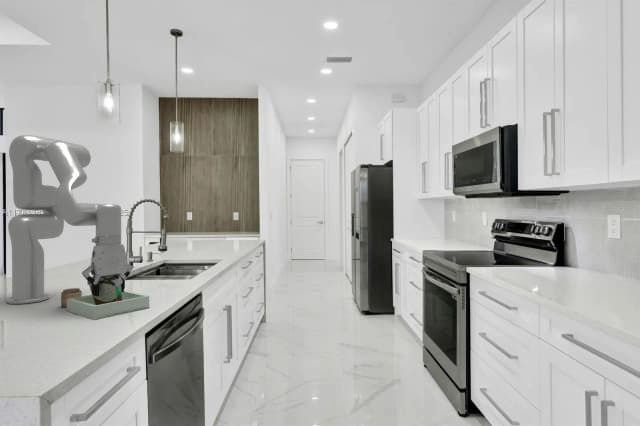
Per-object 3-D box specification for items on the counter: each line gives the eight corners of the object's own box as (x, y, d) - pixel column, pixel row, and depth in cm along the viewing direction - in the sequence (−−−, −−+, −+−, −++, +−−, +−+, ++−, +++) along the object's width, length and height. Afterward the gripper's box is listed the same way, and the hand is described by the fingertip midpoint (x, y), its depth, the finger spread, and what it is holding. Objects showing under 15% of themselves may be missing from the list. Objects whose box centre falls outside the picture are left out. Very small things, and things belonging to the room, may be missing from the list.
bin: (66, 311, 131) (66, 298, 130) (120, 300, 145) (120, 289, 145) (94, 319, 120) (94, 306, 120) (149, 307, 135) (149, 296, 135)
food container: (135, 301, 136) (130, 273, 134) (121, 309, 130) (115, 281, 128) (106, 298, 140) (101, 272, 137) (92, 306, 134) (86, 278, 132)
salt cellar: (57, 306, 136) (57, 290, 136) (76, 303, 141) (76, 287, 141) (66, 309, 133) (66, 292, 133) (84, 305, 138) (84, 289, 138)
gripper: (86, 243, 123) (86, 300, 124) (139, 240, 138) (139, 290, 138) (75, 242, 128) (75, 296, 128) (127, 239, 142) (127, 288, 142)
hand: (108, 293), depth 133 cm, fingers open, 7 cm apart
